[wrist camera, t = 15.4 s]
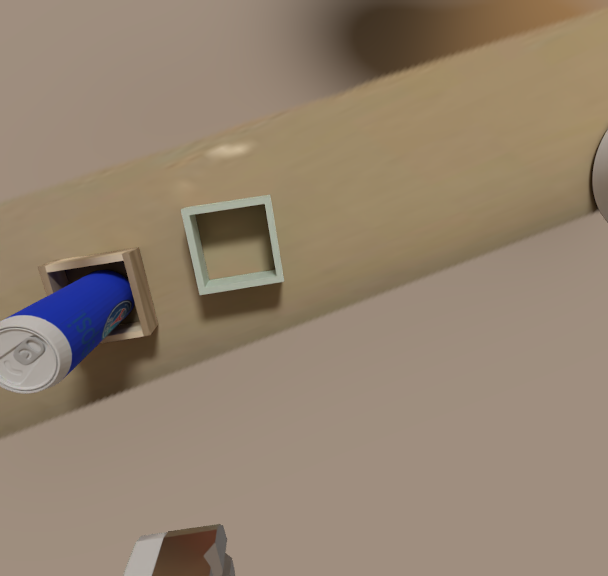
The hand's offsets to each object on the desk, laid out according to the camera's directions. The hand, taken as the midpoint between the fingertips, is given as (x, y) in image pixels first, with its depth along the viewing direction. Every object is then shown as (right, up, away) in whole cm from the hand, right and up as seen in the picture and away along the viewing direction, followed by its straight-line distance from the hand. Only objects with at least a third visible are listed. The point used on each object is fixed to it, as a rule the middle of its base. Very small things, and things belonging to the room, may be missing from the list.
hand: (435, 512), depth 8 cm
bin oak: (-21, +4, +32) cm, 38 cm away
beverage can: (-21, +4, +32) cm, 39 cm away
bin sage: (-9, +9, +32) cm, 34 cm away
